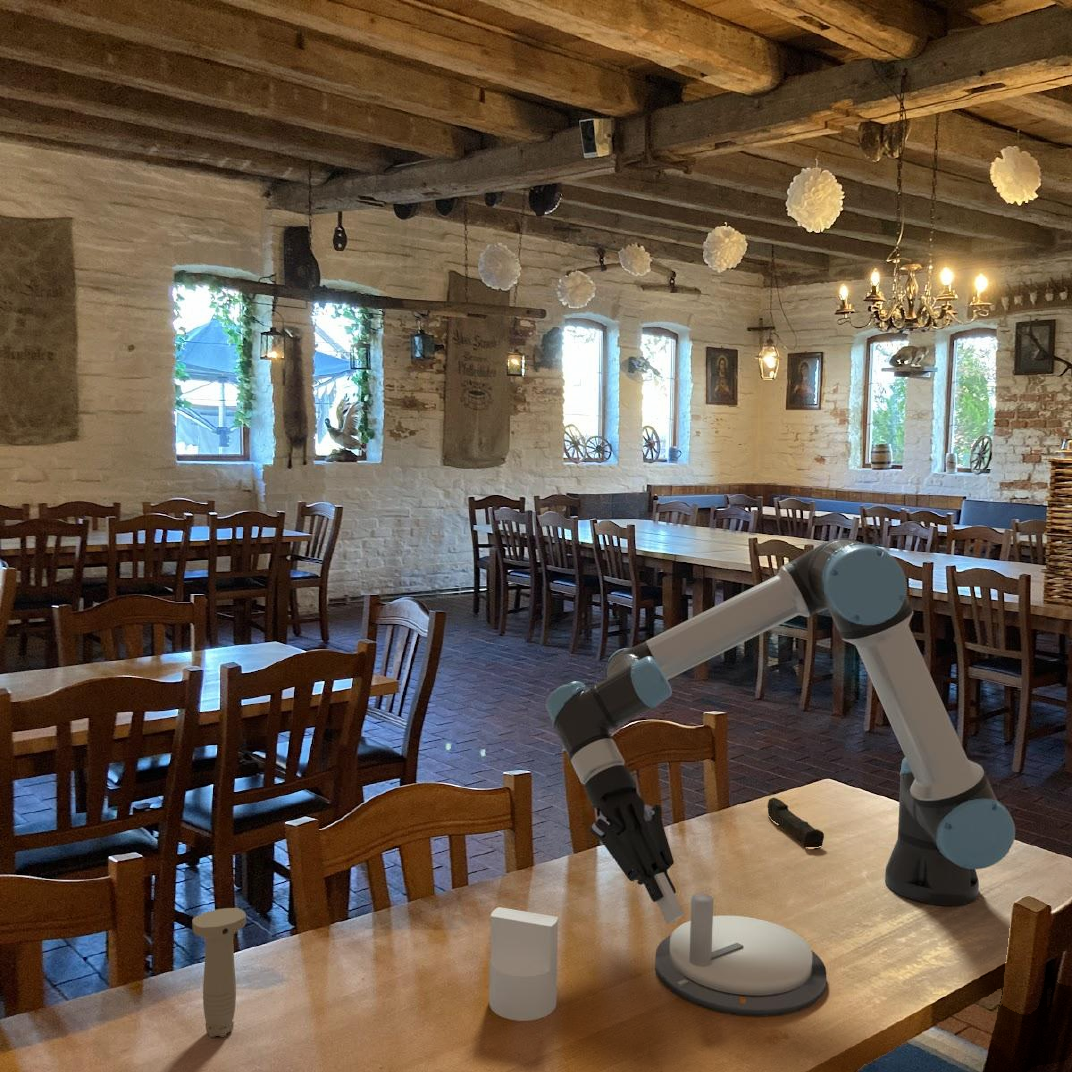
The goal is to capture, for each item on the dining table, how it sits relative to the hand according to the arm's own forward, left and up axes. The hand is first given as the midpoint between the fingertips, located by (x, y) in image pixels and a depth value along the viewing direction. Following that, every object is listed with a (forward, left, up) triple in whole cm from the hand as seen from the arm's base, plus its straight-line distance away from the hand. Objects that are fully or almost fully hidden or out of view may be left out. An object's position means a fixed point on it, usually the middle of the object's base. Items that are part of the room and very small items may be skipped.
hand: (675, 919), depth 153 cm
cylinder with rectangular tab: (+23, +7, -7) cm, 25 cm away
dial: (-9, +2, -5) cm, 11 cm away
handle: (+62, +10, -7) cm, 63 cm away
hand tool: (-37, -51, -8) cm, 64 cm away
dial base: (-9, +2, -7) cm, 12 cm away
